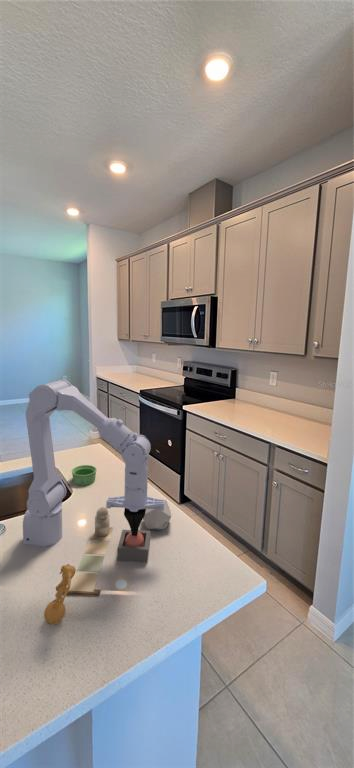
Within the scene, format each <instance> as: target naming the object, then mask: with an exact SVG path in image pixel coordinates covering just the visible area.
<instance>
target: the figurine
mask: <svg viewBox="0 0 354 768" xmlns="http://www.w3.org/2000/svg"><path fill="white" fill-rule="evenodd" d="M76 573H77V569H76V567H75V566H74V565H71V564H70V563H68V564H66V565H65V564H64V565H62V566H61V568H60V572H59V575H61V574H62V575H61V578H62V579H61V581H60V582H59V583H58V585H56V587H55V590H56V592H55V599H53V600H52V601H50V602H49V603H48V604H47V605H46V607H45V608H44V612H43V616H44V617H43V618H44V620H45V622H46V623H47V624H49V625H56V624H59V623H60V622H61V621H62V620H63V619H64V618H65V614H66V606H65V604H64V601H65V598H66V596H67V593H68V591H69V589H70V586H71V584H72V580H73V578H74V577H75V574H76ZM65 590H66V591H65ZM64 592H65V593H64ZM62 593H64V594H62Z"/></svg>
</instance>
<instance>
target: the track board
mask: <svg viewBox="0 0 354 768" xmlns="http://www.w3.org/2000/svg"><path fill="white" fill-rule="evenodd" d="M113 531H114V527H113V526H112V527H111V526H109V534H108V535H107V536H105V537H97V536H96V535H95V527H94V528H93V530H92V533H91V536H90V538H89V541H88V543H87V546H86V548H85V550H84V553H83V554H84V555H82V557H81V560H80V562H79V564H78V567H77V569H76V572H75V574H74V576H73V578H72V581H71V586H70V589H69V591H68V593H67V595H69V596H70V595H71V596H72V595H73V596H94V597H97V596H100V593H101V589H95V588H96V585H97V582H98V579H99V575H100V572H101V568H102V567H103V566H102V565H103V562H104V558H105V555H106V553H107V549H108V547H109V544H110V539H111V538H112V533H113ZM96 572H97V573H96ZM65 591H66V590H65ZM64 593H65V592H64ZM64 593H62V594H63V595H64ZM67 595H66V596H67Z"/></svg>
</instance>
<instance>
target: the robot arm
mask: <svg viewBox="0 0 354 768" xmlns="http://www.w3.org/2000/svg"><path fill="white" fill-rule="evenodd" d="M28 398H29V399H28V400H29V401H28V404H27V406H26V410H25V420H26V426H27V435H28V443H29V444H28V445H29V449H30V459H31V465H32V473H33V480H32V482H31V484H30V486H29V488H28V499H27V500H26V508H27V510H26V511H25V513H24V516H23V518H22V519H23V520H22V539H23V540H22V541H23V542H22V543H23V545H33V546H34V545H35V546H39V547H49V546H53V545H56V544H57V543H59V542H60V541H61V540H62V539H63V499H64V498H65V497H66V496H67V488H66V485H65V484H64V482H63V478H62V475H61V474H59V473H58V472H57V469H56V462H55V452H54V446H53V445H54V444H53V437H52V429H51V420H50V416H51V415H52V414H53V413H55V411H60V412H61V411H73V412H74V413H75V414H77V415H78V416H80V417H82V418H83V419H84V420H85V421H87V422H89V423H90V424H91V425H92V426H93V427H95V428H97V430H98V433H99V436H100V437H101V438H102V439H103V440H104V441H106V442H107V443H108V444H109V445H111V446H112V447H113V448H114V449H116V450H117V451H118V452H119V453H121V458H122V460H123V462H124V463H125V464H124V494H123V495H122V496H116V497H115V496H114V497H113V496H112V497H107V499H106V501H105V502H106V504H105V508H106V509H111V508H123V515H124V519H126V521H127V523H128V525H129V528H130V529H129V530H131V533H132V536H137V534H138V530H139V528H140V525H141V523H142V521H143V518H144V516H145V512H146V509H160V511H164V500H165V499H160V498H155V497H152V496H151V497H150V496H148V483H149V482H148V479H149V478H148V477H149V461H148V460H149V457H148V456H149V454H150V451H151V447H152V445H151V442H150V440H149V439H148V438H147V437H146V435H143V434H138V433H137V432H136V431H135V432H133V431H132V430H131V429H130V428H129V427H128V426H126V425H125V424H123V423H124V421H123V419H121V418H119V419H117V418H116V417H107V415H105V414H103V412H102V411H100V409H98V408H97V407H96V406H95V405H94V404H93V403H91V402H90V401H89V400H88V399H87V397H85V396H84V395H83V394H81V392H80V391H79V389H78V387H77V386H74V385H72V384H71V382H69V381H68V380H66V379H63V378H62V379H61V378H60V379H56V380H55V381H52V382H48V383H45V384H40V385H38V386H37V385H36V387H35V388H34V389H33V390H31V391H30V392H29V393H28Z"/></svg>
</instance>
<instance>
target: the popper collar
mask: <svg viewBox="0 0 354 768" xmlns="http://www.w3.org/2000/svg"><path fill="white" fill-rule="evenodd" d="M138 532H140V533H141V534H142V535H143V537H144V547H134V546H125V539H126V537H127V535H128V534H129V533H131V529H121V534H120V538H119V541H118V546H117V551H116V552H117V554H116V555H117V556H116V557H117V562H138V563H140V562H141V563H148V561H149V553H150V546H151V530H139V529H138Z"/></svg>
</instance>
